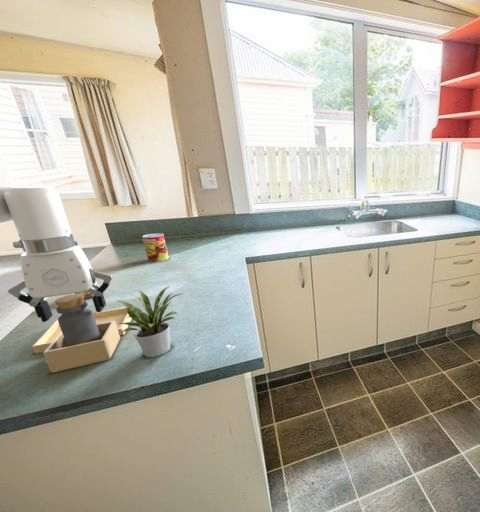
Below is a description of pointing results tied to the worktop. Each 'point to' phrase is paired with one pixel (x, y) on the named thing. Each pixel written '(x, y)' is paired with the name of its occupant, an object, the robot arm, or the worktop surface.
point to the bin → (82, 349)
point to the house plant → (151, 324)
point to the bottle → (76, 320)
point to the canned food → (155, 247)
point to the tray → (99, 318)
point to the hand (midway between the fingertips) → (75, 314)
